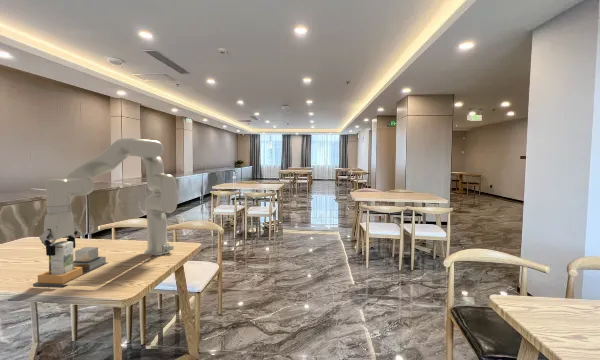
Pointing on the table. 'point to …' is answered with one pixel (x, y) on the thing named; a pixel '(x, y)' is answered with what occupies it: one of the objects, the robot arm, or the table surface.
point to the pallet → (68, 274)
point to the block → (86, 255)
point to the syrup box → (61, 258)
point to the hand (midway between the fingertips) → (61, 251)
